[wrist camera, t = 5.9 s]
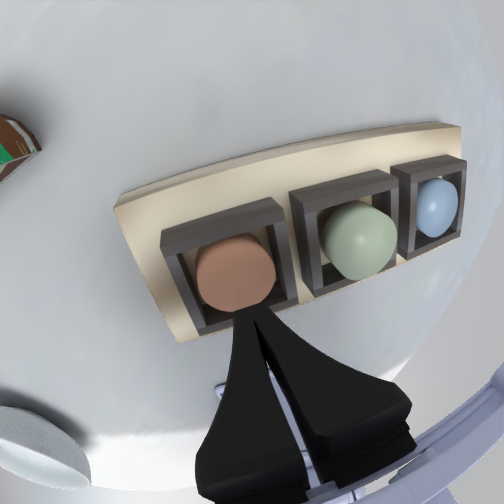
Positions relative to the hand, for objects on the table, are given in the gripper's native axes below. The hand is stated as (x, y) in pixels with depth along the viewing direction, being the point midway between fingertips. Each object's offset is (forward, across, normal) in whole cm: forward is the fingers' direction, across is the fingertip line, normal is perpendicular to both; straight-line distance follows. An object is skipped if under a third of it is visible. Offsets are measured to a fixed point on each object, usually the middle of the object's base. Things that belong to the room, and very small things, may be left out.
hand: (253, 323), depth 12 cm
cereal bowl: (+8, +31, +16) cm, 36 cm away
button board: (+8, -7, 0) cm, 10 cm away
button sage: (+4, -7, 0) cm, 8 cm away
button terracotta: (+5, 0, 0) cm, 5 cm away
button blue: (+5, -14, 0) cm, 15 cm away
